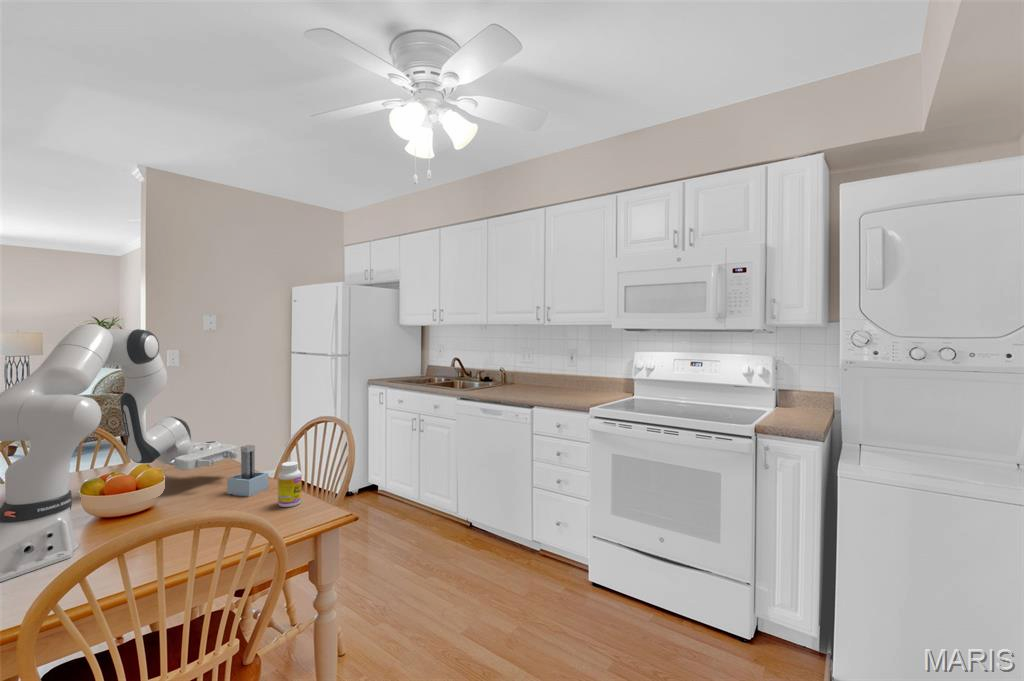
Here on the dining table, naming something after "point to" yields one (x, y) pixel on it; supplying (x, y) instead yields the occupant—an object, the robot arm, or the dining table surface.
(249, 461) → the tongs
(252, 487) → the blue-gray square tray
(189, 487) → the dining table surface
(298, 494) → the supplement bottle
